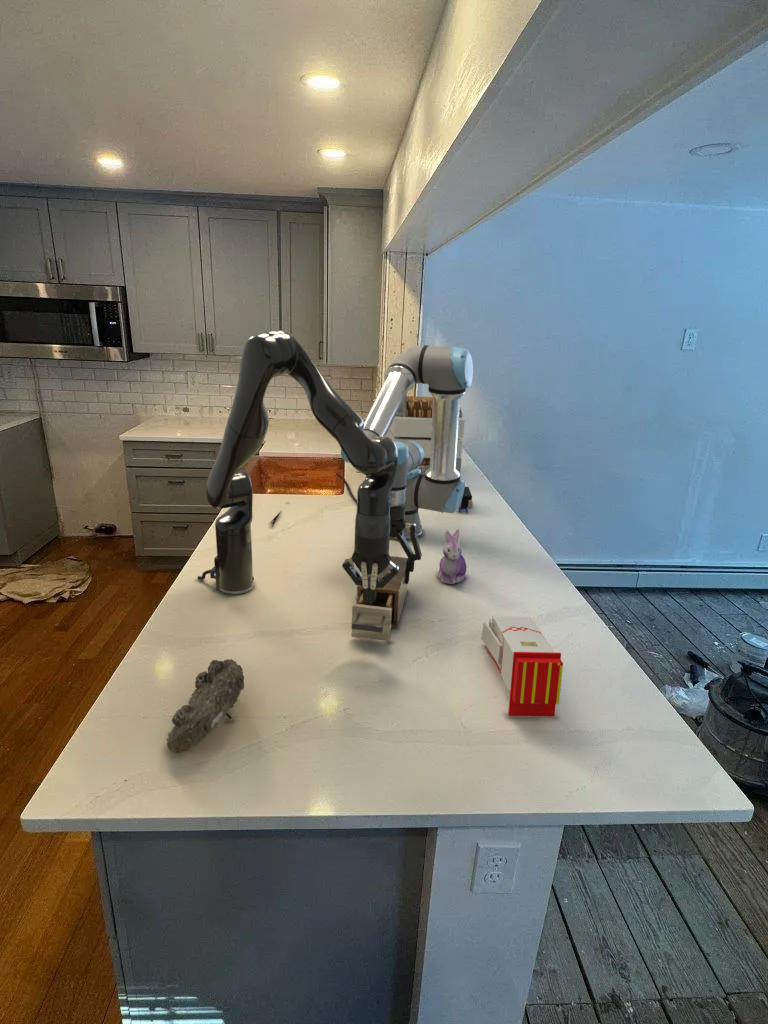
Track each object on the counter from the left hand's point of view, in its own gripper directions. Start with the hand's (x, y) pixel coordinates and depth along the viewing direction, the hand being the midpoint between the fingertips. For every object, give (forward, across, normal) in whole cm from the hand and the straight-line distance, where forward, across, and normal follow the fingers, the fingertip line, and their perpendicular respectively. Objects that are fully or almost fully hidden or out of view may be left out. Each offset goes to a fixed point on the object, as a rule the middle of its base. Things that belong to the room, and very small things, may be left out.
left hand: (369, 601), depth 127 cm
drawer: (+12, 0, +10) cm, 15 cm away
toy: (+12, +33, -2) cm, 36 cm away
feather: (+13, -49, +80) cm, 95 cm away
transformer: (+13, -4, +154) cm, 154 cm away
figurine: (+13, +17, +42) cm, 48 cm away
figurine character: (+13, +18, +107) cm, 109 cm away
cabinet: (+13, 0, +21) cm, 25 cm away
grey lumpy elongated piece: (+13, -24, -29) cm, 40 cm away
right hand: (+7, 0, +26) cm, 27 cm away
